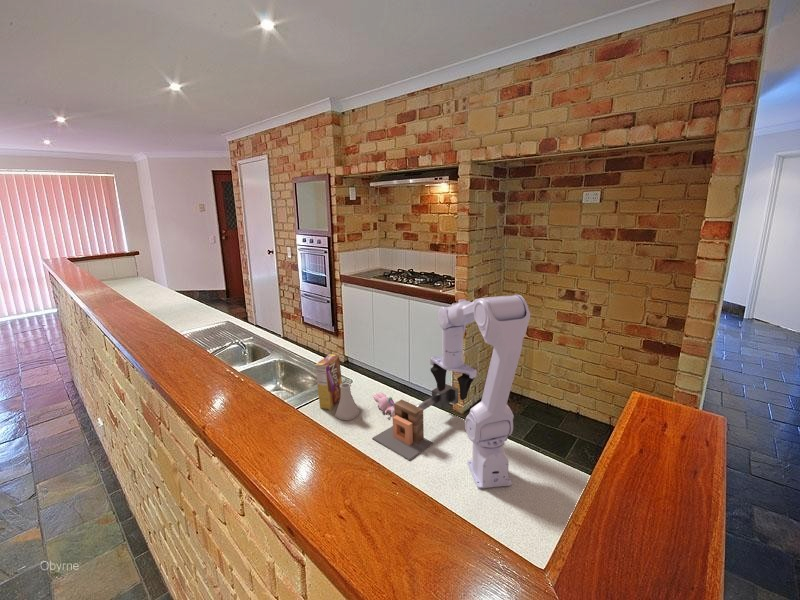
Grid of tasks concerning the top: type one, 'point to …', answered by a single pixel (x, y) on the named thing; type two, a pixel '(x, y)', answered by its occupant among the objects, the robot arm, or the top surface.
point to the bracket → (411, 418)
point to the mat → (401, 444)
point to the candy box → (329, 381)
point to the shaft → (441, 397)
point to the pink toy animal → (385, 403)
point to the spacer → (397, 432)
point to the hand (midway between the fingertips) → (452, 394)
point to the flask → (346, 404)
